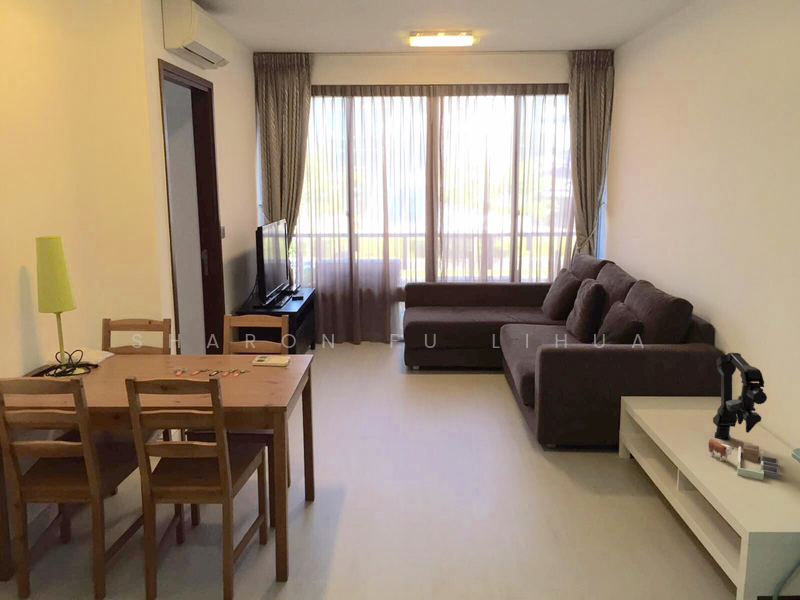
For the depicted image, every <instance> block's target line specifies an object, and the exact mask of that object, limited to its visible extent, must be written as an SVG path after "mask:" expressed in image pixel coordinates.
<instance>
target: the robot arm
mask: <svg viewBox="0 0 800 600" xmlns="http://www.w3.org/2000/svg"><path fill="white" fill-rule="evenodd" d="M716 366H717V367H716V368H717V371H718V373H719V374H720V406H719V407H718V408H717V412H716V414H715V415H714V416H713V417H712V423H713V424H714V425H715V426H716V431H715V432H714V438H715V439H716V438H717V439H723V440H728V441H730V439H731V435H730V432H731V428H732V427H733V428H735V426H736V424H738V425H742V423H743V422H744V421H745V432H746V434H747V433H750V432H751V430H752V429H753V428H754V427H755V426H756V425H757V424H758V423H760V422H761V421H762V416H761V415H760V414H759V413H758V412H755V411H756V408H755V404H756V405H762V404H765V402H766V401H767V399H768V396H767V394H766V393H765V392H764V389H763V388H764V387H765V380H764V377H763V374H762V371H761V370H760V369H759V368H757V367H755V366H751V365H750V364H749V362H747V361H746V360H745V359H744V358H743V357H742V354H741V353H739V352H728V353H727V354H723V355H721V356H718V358H716ZM737 370H738V371H739V372H740V375H739V376H740V378H741V381H740V382H741V383H742V384H741V385H742V387H741V392H740V395H739V396H738V397H737V398H736V399H733V376H734V374H735V372H736V371H737Z"/></svg>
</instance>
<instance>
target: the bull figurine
mask: <svg viewBox="0 0 800 600" xmlns="http://www.w3.org/2000/svg"><path fill="white" fill-rule="evenodd" d="M734 449H735V448H734V447H731V446H729V445H728V444H725V443H724V444H723V443H721V442H719V441H718V440H717V441H716V440H714V439H712V438H710V439H709V441H708V452H709V453H710V456H711V457H712V458H713V457H714V455H715V453H716V454H720V456H719V457H720V458H719V461H720V462H722V461H723V460H722V459H723V457H725V462H727V463H729V460H728V456H729V455H732V451H733V450H734Z"/></svg>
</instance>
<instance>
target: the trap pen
mask: <svg viewBox="0 0 800 600" xmlns="http://www.w3.org/2000/svg"><path fill="white" fill-rule="evenodd" d="M741 452H742V447H741V446H740V445H739V446H738V451H737V472H736V475H737V476H741V477H746V478H750V479H755V480H761V481H764V478H765V477H766V478H770V479H775V480H779V479H780V467H779V459H778V458H777V457H772V456H766V455H764V451H763V450H760V452H759V460H760V467H759V468H760V471H757V470H752V469H748V468H747V469H746V468H742V467H741V457H742V455H741Z"/></svg>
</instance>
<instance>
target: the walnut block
mask: <svg viewBox="0 0 800 600" xmlns="http://www.w3.org/2000/svg"><path fill="white" fill-rule="evenodd" d="M759 456H760V446H759V445H755V444H750V443H743V448H742V456H741V457H742V459H745V460H751V461H754V462H759V461H758V460H759Z"/></svg>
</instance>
